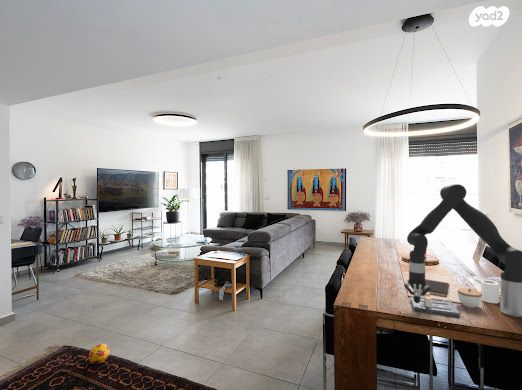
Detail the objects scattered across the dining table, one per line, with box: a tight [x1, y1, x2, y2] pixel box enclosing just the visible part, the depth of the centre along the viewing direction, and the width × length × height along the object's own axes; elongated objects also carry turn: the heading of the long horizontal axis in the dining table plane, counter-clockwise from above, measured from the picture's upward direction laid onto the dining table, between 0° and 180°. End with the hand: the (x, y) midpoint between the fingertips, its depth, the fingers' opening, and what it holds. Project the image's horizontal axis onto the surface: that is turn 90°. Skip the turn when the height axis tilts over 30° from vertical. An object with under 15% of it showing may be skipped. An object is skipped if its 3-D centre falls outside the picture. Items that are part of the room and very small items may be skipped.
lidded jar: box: [457, 287, 483, 309], centre depth 150 cm, size 11×11×9 cm
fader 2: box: [425, 296, 432, 307], centre depth 145 cm, size 2×3×4 cm
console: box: [410, 297, 461, 318], centre depth 147 cm, size 20×14×2 cm
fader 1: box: [423, 292, 431, 302], centre depth 151 cm, size 2×3×4 cm
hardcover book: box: [421, 278, 450, 298], centre depth 177 cm, size 16×23×2 cm
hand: (416, 302), depth 147 cm, fingers closed
